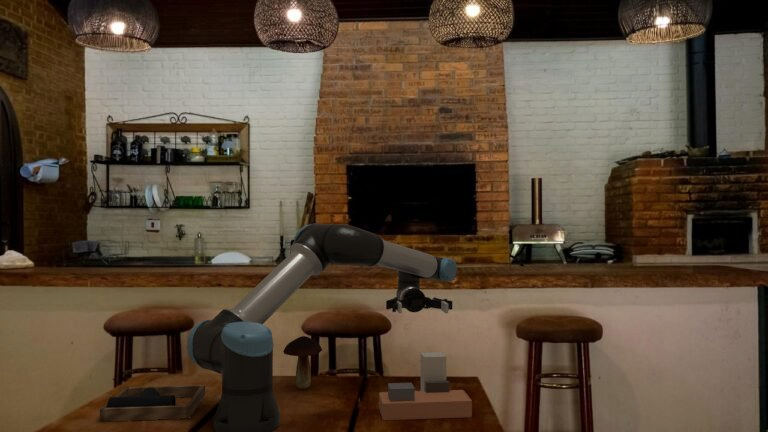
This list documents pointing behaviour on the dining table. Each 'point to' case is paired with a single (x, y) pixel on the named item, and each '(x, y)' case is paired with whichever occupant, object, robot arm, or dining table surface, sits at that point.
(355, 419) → the dining table surface
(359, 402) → the dining table surface
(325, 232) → the robot arm
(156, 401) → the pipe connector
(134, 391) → the frame
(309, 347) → the decorative mushroom
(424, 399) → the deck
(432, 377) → the tall grey brick
